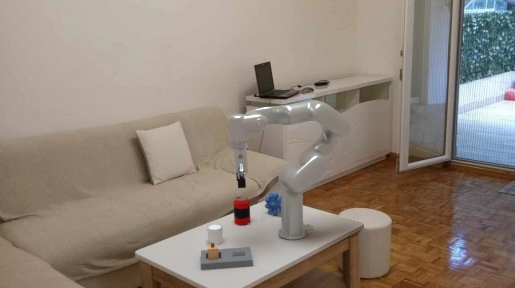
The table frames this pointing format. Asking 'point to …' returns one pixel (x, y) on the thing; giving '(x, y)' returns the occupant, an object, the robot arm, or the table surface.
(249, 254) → the socket plate
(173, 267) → the table surface
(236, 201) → the soda can
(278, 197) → the grapes
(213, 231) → the white short cylinder
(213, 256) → the block
